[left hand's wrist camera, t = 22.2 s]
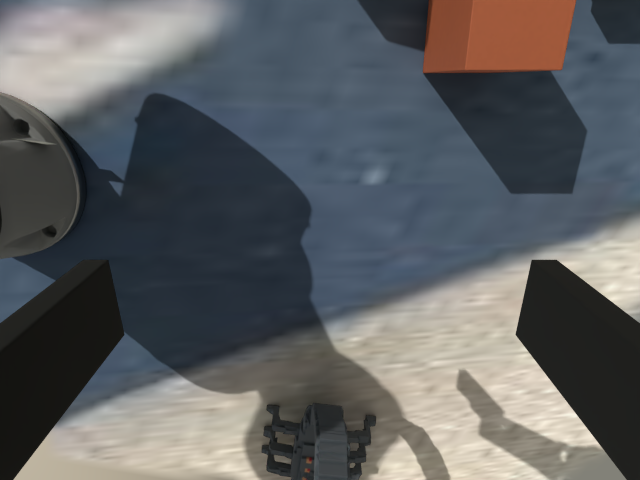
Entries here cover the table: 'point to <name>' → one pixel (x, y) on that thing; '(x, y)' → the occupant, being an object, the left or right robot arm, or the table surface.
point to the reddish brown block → (496, 35)
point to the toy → (317, 445)
